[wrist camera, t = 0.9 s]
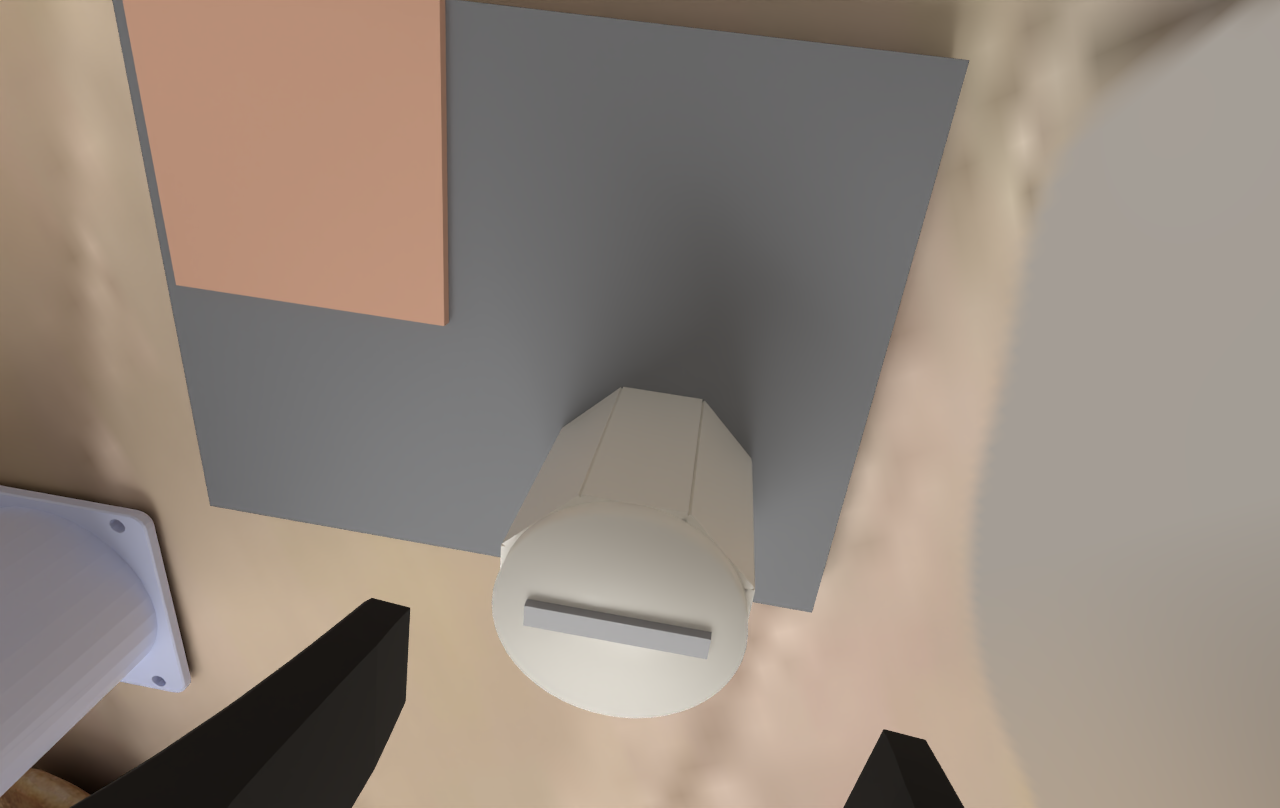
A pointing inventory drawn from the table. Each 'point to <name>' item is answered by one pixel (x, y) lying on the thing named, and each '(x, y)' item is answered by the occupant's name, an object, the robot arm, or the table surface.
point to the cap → (632, 559)
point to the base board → (597, 283)
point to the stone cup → (41, 792)
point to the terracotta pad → (301, 148)
